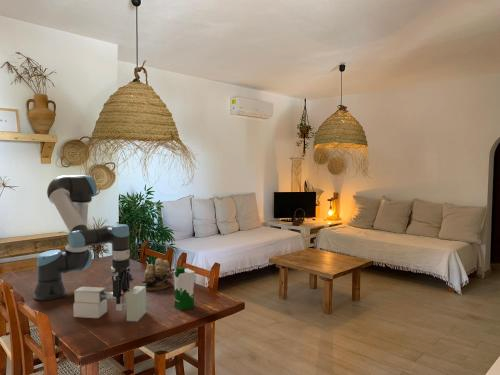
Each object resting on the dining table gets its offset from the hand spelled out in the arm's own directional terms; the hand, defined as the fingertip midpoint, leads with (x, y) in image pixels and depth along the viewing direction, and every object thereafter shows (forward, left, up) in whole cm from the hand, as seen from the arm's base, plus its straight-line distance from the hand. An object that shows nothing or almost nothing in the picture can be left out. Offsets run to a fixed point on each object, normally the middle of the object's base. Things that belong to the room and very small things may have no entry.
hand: (121, 307), depth 175 cm
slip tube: (-2, 0, +3) cm, 4 cm away
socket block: (+7, 0, -4) cm, 8 cm away
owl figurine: (+3, +40, -4) cm, 40 cm away
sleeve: (-15, 0, -4) cm, 16 cm away
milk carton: (+26, +14, -4) cm, 29 cm away
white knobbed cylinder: (-29, +60, -4) cm, 67 cm away
